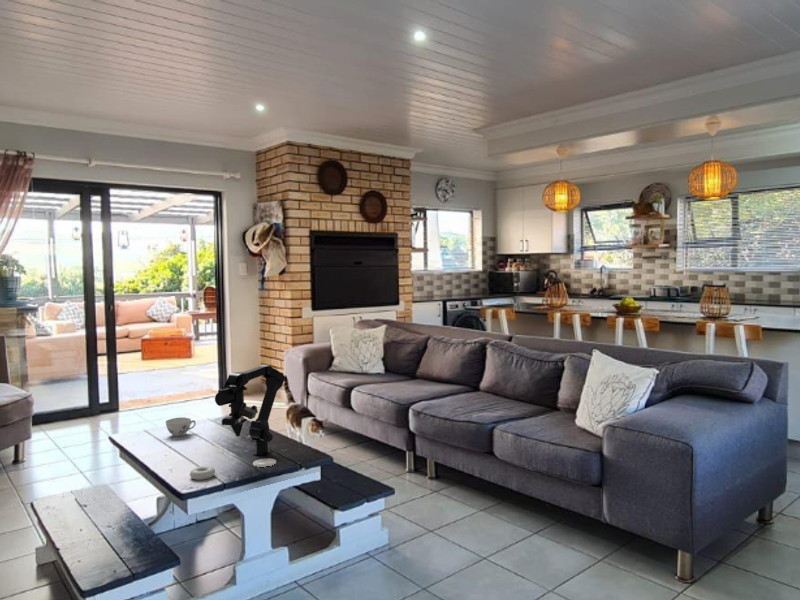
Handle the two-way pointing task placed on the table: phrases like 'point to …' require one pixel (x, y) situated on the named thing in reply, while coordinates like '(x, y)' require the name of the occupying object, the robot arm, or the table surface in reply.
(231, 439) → the table surface
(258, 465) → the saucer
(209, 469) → the donut
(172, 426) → the teacup
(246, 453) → the table surface
